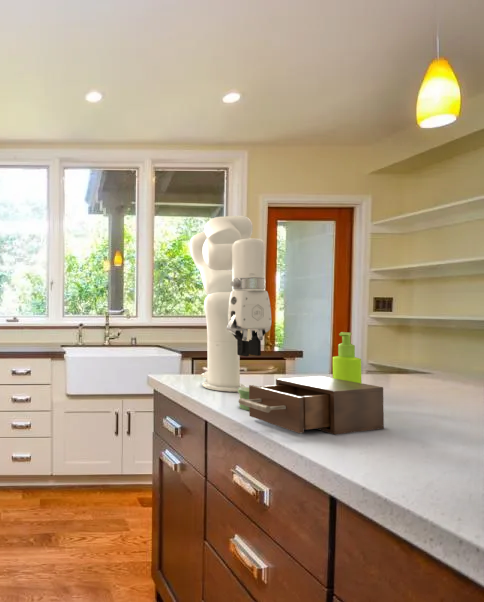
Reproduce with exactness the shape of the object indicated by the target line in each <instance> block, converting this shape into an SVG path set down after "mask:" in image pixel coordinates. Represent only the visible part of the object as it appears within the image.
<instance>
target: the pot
mask: <svg viewBox="0 0 484 602" xmlns="http://www.w3.org/2000/svg"><path fill="white" fill-rule="evenodd" d="M237 393H238V395H239V396H238V397H239V399H240V398H243V399H247V400H249V386H248V387H246V386H245V387H241V388H238V392H237ZM239 399H238V400H239ZM238 404H239V408H240V409H241V410H244V411H249V407H248V406H245V405H242V404H240V403H239V402H238Z"/></svg>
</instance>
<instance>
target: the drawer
mask: <svg viewBox="0 0 484 602" xmlns="http://www.w3.org/2000/svg"><path fill="white" fill-rule="evenodd" d="M248 388H249V400H247V399H243V398H240V399H238V404H239V403H240V404H242V405H245V406H248V407H249V410H248V411H249V414H248V415H249V417H251V418H254V419H257V420H260V421H263V422H265V423H269V424H271V425H274V426H277V427H280V428H283V429H286V430H289V431H291V432H295V433H297V434H304V433H305V431H306V430H314V429H315V428H323V427H331V411H330V394H327V393H322V392H318V391H313V390H309V389H304V388H300V387H295V386H291V385H286V384H283V385H276V384H272V385H260V386H259V385H255V384H249V385H248Z"/></svg>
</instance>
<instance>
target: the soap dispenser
mask: <svg viewBox="0 0 484 602" xmlns="http://www.w3.org/2000/svg"><path fill="white" fill-rule="evenodd" d="M352 334H353V332H345V331H341V332H340V333H338V335H339V337H341V343H339V344H338V345H337V347H338V348H337V353H338V355H334V356H332V357H331V358H332V360H331V361H332V378H335V379H340V380H346V381H351V382H357V383H362V359H361V358H360V357H356V346H355V344H353V343H351V336H352Z"/></svg>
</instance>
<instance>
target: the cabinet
mask: <svg viewBox="0 0 484 602" xmlns="http://www.w3.org/2000/svg"><path fill="white" fill-rule="evenodd" d="M283 384H286V385H291V386H295V387H300V388H304V389H309V390H313V391H318V392H322V393H327V394H330V411H331V427H323V428H315V429H316V430H319V431H322V432H324V433H327V434H331V435H335V436H337V435H343V434H350V433H359V432H368V431H374V430H375V431H376V430H383V429H385V428H384V427H385V424H384V423H385V419H384V415H385V414H384V413H385V412H384V411H385V410H384V386H380V385H379V386H378V385H374V384H367V383H363V382H361V383H357V382H351V381H346V380H340V379H335V378H333V377H327V376H322V375H317V376H316V375H314V376H301V377H285V378H276V379H275V385H283Z"/></svg>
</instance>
